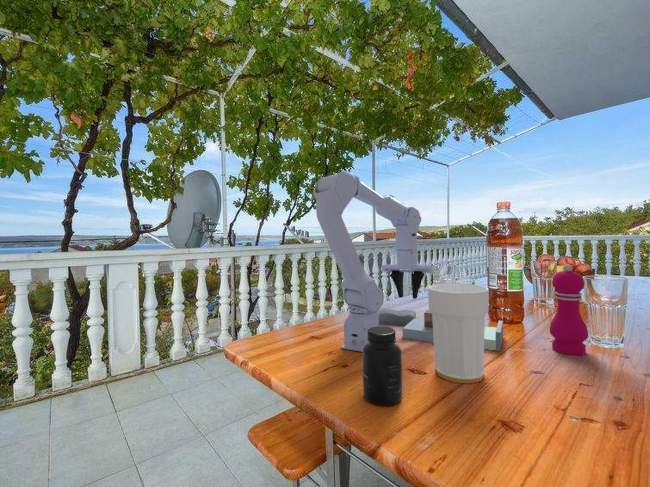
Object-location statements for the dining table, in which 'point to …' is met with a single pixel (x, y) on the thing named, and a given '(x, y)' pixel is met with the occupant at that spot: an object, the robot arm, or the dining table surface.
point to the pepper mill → (568, 314)
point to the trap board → (419, 332)
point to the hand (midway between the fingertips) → (407, 297)
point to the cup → (459, 330)
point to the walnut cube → (428, 319)
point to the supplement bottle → (382, 367)
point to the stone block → (395, 316)
